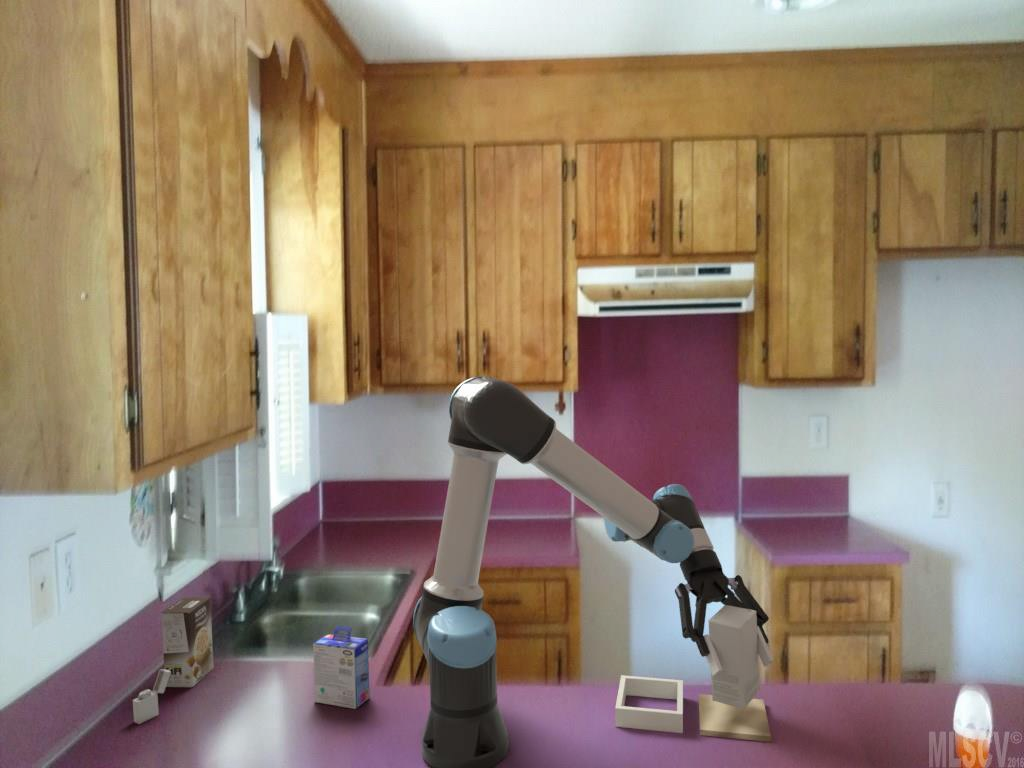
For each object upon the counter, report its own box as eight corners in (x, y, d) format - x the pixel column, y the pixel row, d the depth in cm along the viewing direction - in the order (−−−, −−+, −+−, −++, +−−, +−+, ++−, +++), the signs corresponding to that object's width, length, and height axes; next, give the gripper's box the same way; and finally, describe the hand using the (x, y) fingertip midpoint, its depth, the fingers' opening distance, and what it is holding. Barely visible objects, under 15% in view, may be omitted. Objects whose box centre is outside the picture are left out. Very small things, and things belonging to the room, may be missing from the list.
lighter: (138, 724, 140) (136, 683, 140) (133, 721, 141) (131, 681, 141) (173, 707, 146) (170, 668, 146) (167, 705, 147) (165, 666, 147)
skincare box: (728, 682, 142) (724, 603, 141) (763, 690, 138) (758, 609, 137) (710, 701, 136) (705, 618, 135) (745, 711, 132) (741, 625, 131)
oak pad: (700, 734, 132) (700, 729, 132) (698, 698, 145) (698, 693, 145) (771, 741, 130) (771, 736, 129) (763, 704, 142) (763, 699, 142)
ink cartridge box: (371, 697, 149) (369, 626, 148) (357, 710, 144) (354, 638, 143) (329, 690, 152) (326, 621, 151) (313, 703, 147) (310, 632, 146)
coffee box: (193, 688, 154) (189, 613, 153) (164, 687, 155) (159, 612, 154) (214, 667, 164) (210, 596, 162) (186, 667, 164) (182, 596, 163)
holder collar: (615, 726, 136) (615, 708, 135) (621, 692, 148) (621, 675, 148) (682, 733, 133) (682, 714, 133) (682, 697, 146) (682, 680, 145)
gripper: (738, 559, 153) (787, 665, 140) (639, 572, 147) (680, 685, 133) (753, 541, 148) (806, 650, 134) (651, 554, 141) (696, 670, 128)
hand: (743, 668), depth 134 cm, fingers closed on skincare box, 10 cm apart
